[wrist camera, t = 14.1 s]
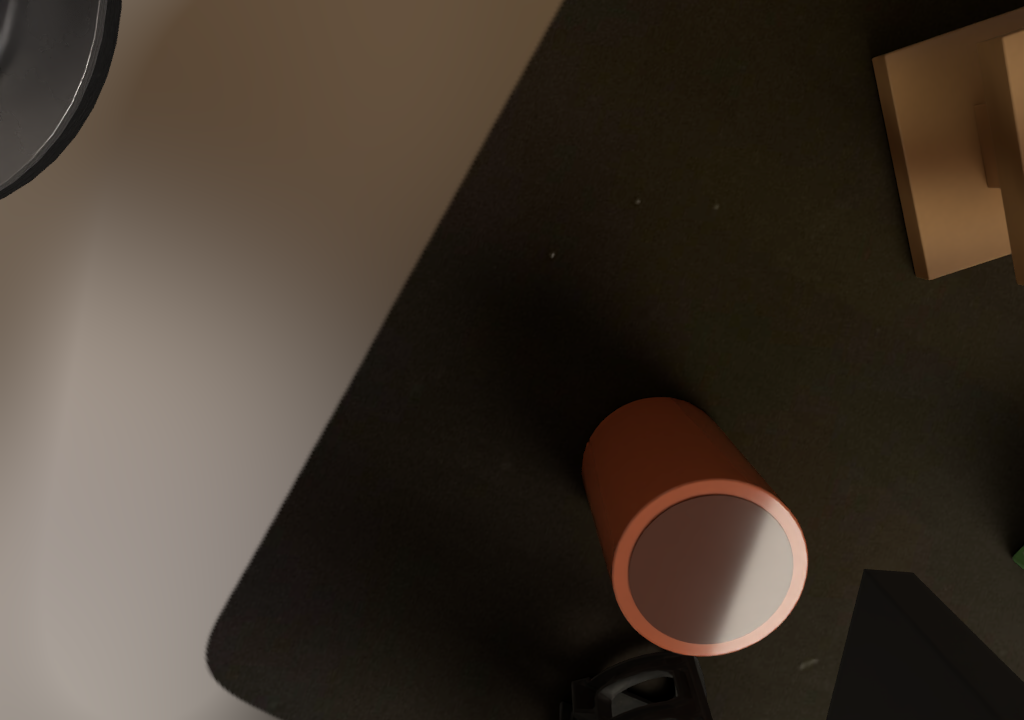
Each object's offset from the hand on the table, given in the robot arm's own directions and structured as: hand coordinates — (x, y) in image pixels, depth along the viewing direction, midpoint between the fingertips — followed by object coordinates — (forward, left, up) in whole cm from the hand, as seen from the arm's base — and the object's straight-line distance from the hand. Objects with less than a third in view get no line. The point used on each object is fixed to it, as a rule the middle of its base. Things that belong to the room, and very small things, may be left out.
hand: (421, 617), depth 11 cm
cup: (+10, +6, -25) cm, 28 cm away
